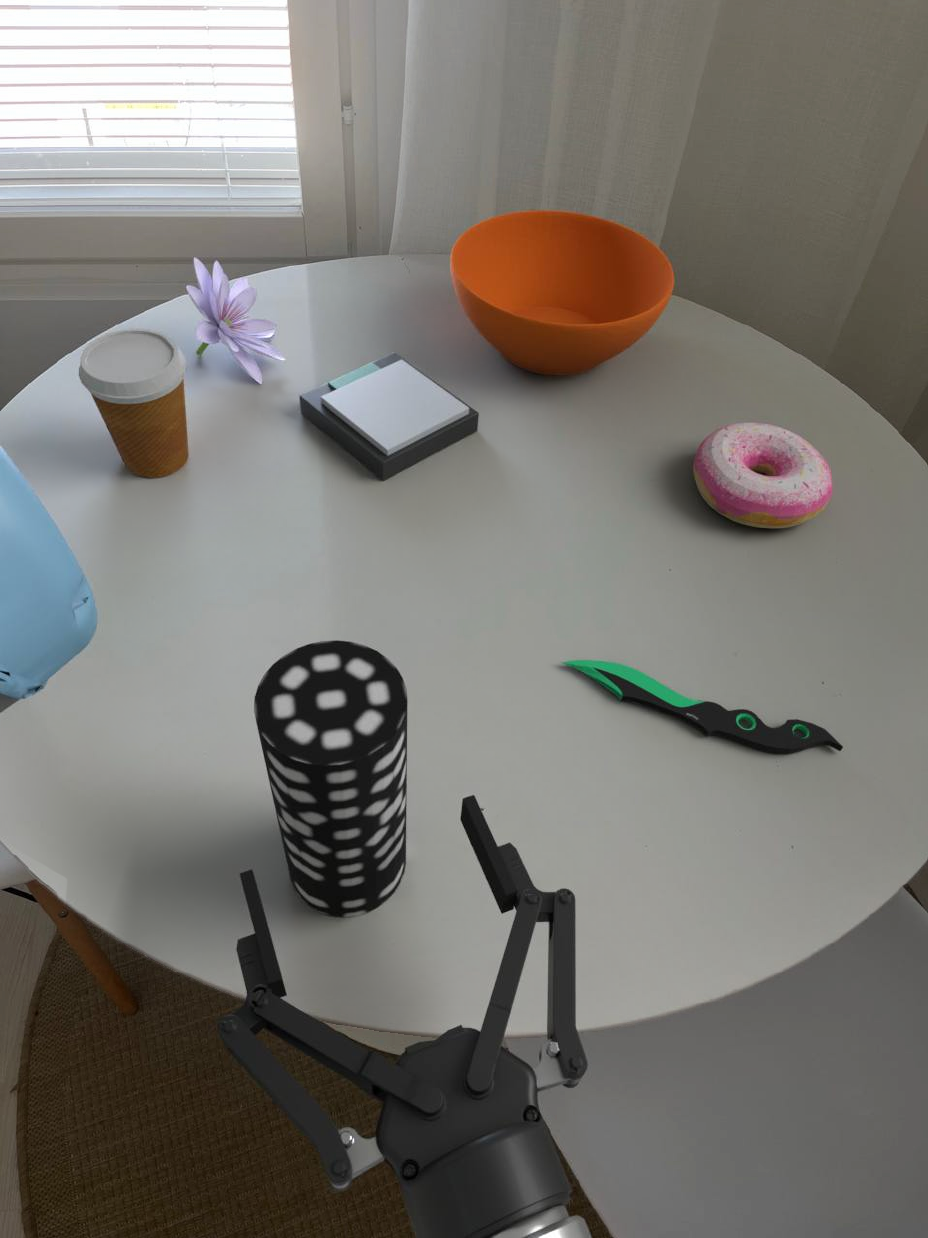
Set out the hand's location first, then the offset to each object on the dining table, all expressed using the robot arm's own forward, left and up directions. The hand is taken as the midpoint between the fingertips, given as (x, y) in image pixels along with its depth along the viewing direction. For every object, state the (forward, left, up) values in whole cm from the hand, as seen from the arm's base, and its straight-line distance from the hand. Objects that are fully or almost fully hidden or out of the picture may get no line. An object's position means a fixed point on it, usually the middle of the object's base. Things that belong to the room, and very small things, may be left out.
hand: (361, 842), depth 54 cm
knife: (+4, +31, -11) cm, 33 cm away
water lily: (-60, +29, -11) cm, 68 cm away
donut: (-9, +57, -11) cm, 59 cm away
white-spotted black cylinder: (-4, +1, -11) cm, 12 cm away
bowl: (-41, +60, -11) cm, 74 cm away
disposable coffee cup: (-51, +13, -11) cm, 54 cm away
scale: (-41, +35, -11) cm, 55 cm away
